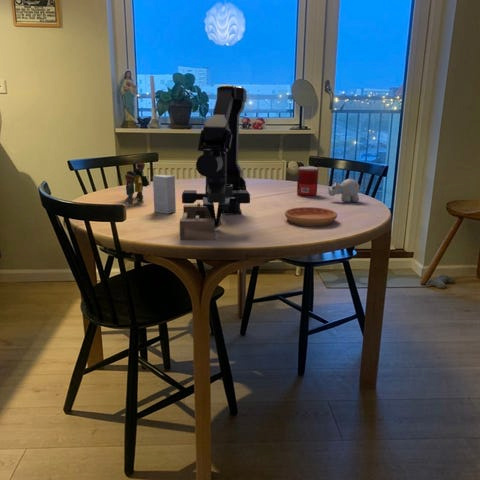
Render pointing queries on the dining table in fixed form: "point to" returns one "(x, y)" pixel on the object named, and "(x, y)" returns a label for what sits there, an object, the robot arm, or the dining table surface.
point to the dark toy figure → (136, 184)
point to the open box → (197, 223)
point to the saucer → (311, 216)
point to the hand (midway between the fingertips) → (216, 226)
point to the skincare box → (164, 194)
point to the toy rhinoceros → (346, 190)
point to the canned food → (307, 181)
